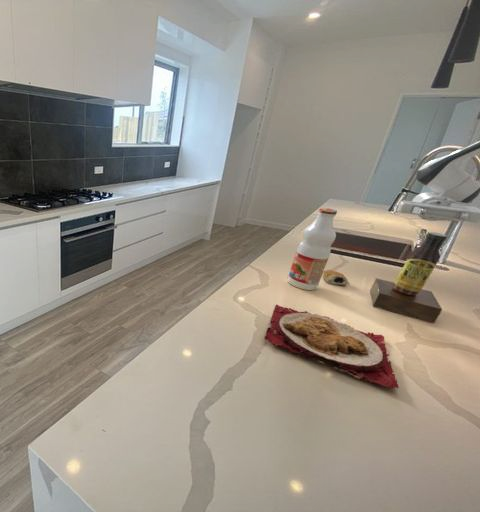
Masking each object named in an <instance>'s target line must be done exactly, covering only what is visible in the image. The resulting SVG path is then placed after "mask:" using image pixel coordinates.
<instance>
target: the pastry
mask: <svg viewBox="0 0 480 512" xmlns="http://www.w3.org/2000/svg"><path fill="white" fill-rule="evenodd" d="M323 279H324V280H325V283H327V284H330V285H336V286H337V285H338V286H339V285H340V286H345V285H347V284H348V283H349V281H348V278H347V277H346V276H345V275H344V274H343V273H341V272H339V271H334V270H332V269H326V270H324V271H323Z"/></svg>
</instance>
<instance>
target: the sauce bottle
mask: <svg viewBox="0 0 480 512" xmlns="http://www.w3.org/2000/svg"><path fill="white" fill-rule="evenodd" d="M447 238H448V235H446V234H443V233H439V232H435V231H428V232H427V234H425V239H424V240H423V243H421V245H420V246H418V247H417V248H415V249H413V250H412V252H411V253H410V255H409V256H408V258H407V259H406V261H405V263H404V265H403V266H402V268H401V270H400V271H399V274H398V275H397V277H396V279H395V280H394V283H395V284H394V285H393V289H394V290H396V291H398V292H400V293H403V294H407V295H412V296H415V295H417V294H418V293H419V292H420V291H421V289H423V288H424V286H425V284H426V283H427V281H428V280H429V278H430V276H431V275H432V274H433V272H434V270H435V268H436V266H437V264H438V262H439V260H440V258H441V253H440V249H441V246H442V245H443V243H444V242H445V241H446V240H447Z"/></svg>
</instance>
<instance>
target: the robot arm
mask: <svg viewBox="0 0 480 512" xmlns="http://www.w3.org/2000/svg"><path fill="white" fill-rule="evenodd" d="M479 155H480V139H478V140H476V141H474V142H472V143H469V144H467V145H464V146H463V147H461V148H459V149H457V150H455V151H452V152H450V153H447V154H445V155H443V156H440V157H437V158H435V159H432V160H430V161H428V162H426V163H424V164H422V166H420V167H419V168H418V169H417V171H416V176H415V177H416V181H417V182H419V183H421V184H422V185H424V186H425V187H427V188H428V189H430V190H431V191H425V192H421V193H419V194H417V195H415V196H414V197H413V198H412V199H411V200H401V201H400V202H396V203H395V207H397V209H396V211H397V212H398V213H403V214H407V215H415V216H416V215H417V216H418V217H419V218H420V219H422V220H424V221H428V222H436V221H437V222H438V221H439V222H441V221H443V222H445V221H447V222H460V223H461V222H462V223H463V222H467V223H475V224H479V223H480V207H476V206H474V203H471V201H473V200H475V199H476V198H477V197H479V195H480V181H479V180H478V179H477V181H476V180H475V179H476V178H475V176H473V175H471V174H470V173H468V172H467V171H465V170H464V169H463V168H462V167H461V166H459V165H458V164H460V163H462V162H464V161H467V160H469V159H471V158H474V157H476V156H479ZM474 180H475V181H474Z"/></svg>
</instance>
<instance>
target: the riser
mask: <svg viewBox="0 0 480 512" xmlns="http://www.w3.org/2000/svg"><path fill="white" fill-rule="evenodd" d="M394 282H395V281H394ZM394 282H393V281H389V280H386V279H381V278H376V277H375V279H374V281H373V284H372V285H371V288H370V291H369V292H370V297H371V303H372V307H374V308H377V309H380V310H385V311H388V312H391V313H396V314H399V315H403V316H406V317H410V318H414V319H417V320H420V321H424V322H427V323H431V324H435V323H436V321H437V319H438V318H439V316H440V314H441V313H442V310H443V308H442V306H441V305H440V303H439V301H438V299H437V298H436V297H435V295H434V293H433V291H431V290H427V289H423V288H422V289H421V291H420V292H419V293H418V294H417V295H415V296H412V295H407V294H403V293H400V292H398V291H396V290H394V289H393V285H394V284H395V283H394Z"/></svg>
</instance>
